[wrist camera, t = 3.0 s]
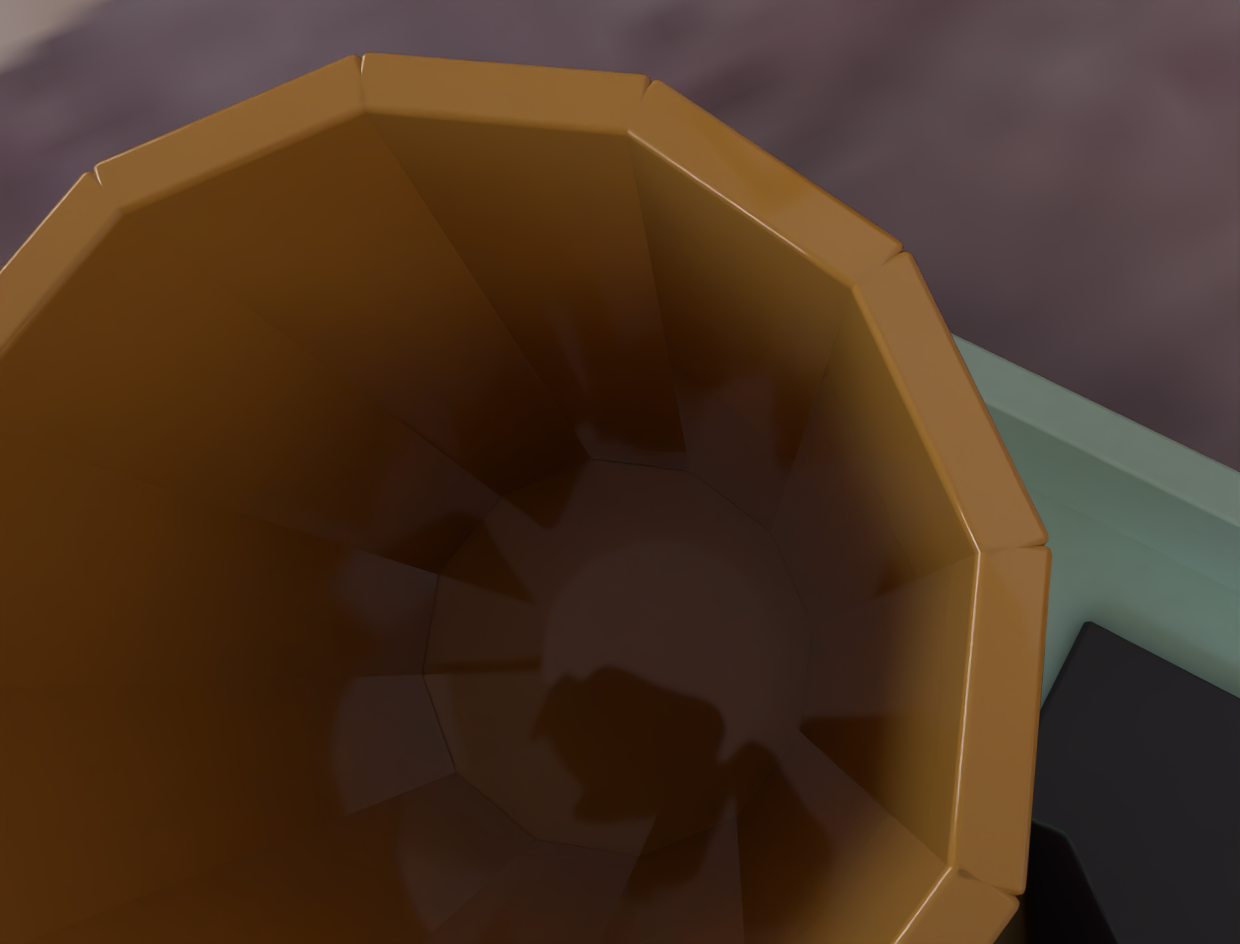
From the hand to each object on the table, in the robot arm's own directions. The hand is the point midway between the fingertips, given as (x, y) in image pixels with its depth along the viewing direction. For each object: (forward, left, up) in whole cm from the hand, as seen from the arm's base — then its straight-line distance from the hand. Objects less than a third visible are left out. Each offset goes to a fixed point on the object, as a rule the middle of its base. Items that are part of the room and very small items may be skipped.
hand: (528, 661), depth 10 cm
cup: (0, 0, -8) cm, 8 cm away
